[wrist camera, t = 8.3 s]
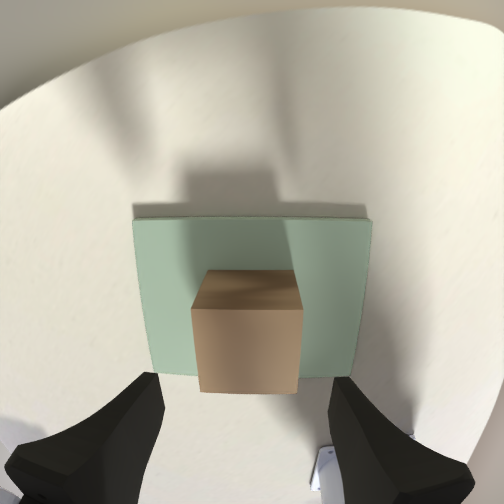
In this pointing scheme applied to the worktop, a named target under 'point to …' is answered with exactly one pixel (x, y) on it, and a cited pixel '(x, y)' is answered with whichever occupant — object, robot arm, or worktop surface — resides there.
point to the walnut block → (248, 332)
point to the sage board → (254, 258)
